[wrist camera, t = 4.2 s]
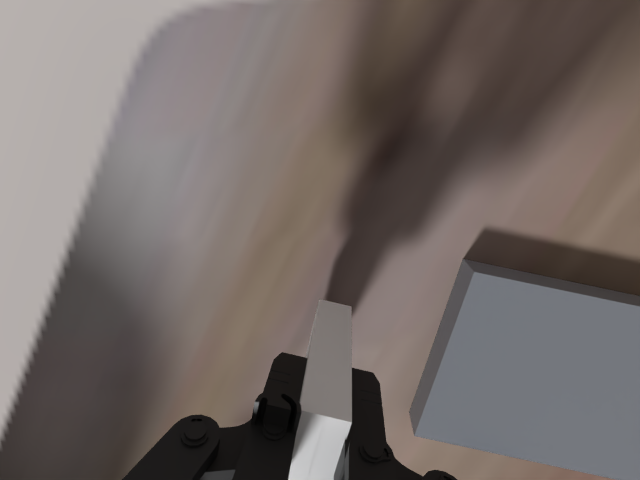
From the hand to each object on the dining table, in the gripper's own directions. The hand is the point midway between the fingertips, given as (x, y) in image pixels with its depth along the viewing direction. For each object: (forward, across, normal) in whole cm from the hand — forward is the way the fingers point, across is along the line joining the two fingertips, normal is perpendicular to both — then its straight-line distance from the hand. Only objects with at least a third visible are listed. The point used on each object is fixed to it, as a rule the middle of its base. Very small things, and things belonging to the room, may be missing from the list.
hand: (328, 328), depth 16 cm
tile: (+2, +12, 0) cm, 12 cm away
